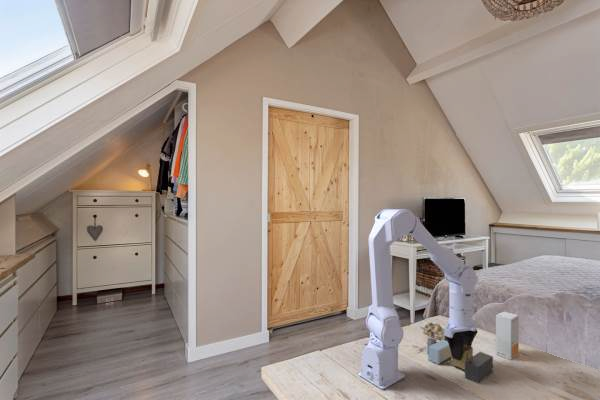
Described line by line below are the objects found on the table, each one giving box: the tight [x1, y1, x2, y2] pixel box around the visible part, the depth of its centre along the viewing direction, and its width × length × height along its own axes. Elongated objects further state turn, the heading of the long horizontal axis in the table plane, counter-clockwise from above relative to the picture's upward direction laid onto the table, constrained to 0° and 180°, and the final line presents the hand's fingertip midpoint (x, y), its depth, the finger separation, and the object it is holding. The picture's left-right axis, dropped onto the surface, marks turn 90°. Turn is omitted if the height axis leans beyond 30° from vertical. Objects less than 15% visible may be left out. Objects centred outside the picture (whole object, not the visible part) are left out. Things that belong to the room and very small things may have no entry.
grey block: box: [464, 351, 494, 384], centre depth 80 cm, size 9×3×4 cm, turn 127°
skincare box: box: [495, 311, 520, 360], centre depth 91 cm, size 6×4×12 cm
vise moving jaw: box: [427, 337, 451, 365], centre depth 89 cm, size 8×6×4 cm
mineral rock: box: [422, 322, 447, 341], centre depth 105 cm, size 11×4×8 cm
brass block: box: [450, 344, 474, 371], centre depth 84 cm, size 4×4×5 cm
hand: (460, 356), depth 84 cm, fingers closed on brass block, 4 cm apart
